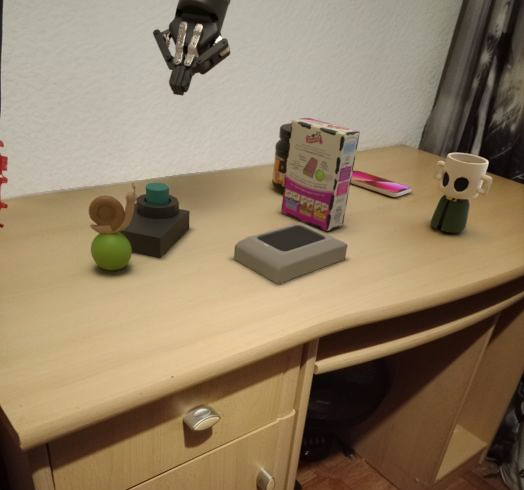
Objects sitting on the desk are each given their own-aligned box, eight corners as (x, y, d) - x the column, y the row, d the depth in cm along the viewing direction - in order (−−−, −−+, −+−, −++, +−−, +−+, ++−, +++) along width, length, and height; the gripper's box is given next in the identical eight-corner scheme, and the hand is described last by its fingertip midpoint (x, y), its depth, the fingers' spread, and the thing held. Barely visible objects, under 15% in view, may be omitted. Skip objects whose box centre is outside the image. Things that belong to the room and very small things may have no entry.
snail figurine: (141, 275, 75) (138, 190, 68) (93, 278, 73) (85, 191, 66) (137, 258, 79) (134, 176, 72) (91, 260, 78) (83, 176, 71)
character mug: (411, 222, 102) (429, 152, 95) (432, 215, 106) (451, 147, 99) (462, 243, 96) (486, 169, 88) (482, 235, 100) (506, 164, 93)
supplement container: (260, 186, 111) (266, 124, 105) (297, 179, 117) (304, 120, 111) (295, 202, 105) (303, 138, 98) (332, 194, 111) (342, 133, 104)
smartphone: (356, 169, 124) (413, 187, 116) (355, 174, 125) (412, 192, 117) (337, 175, 119) (395, 194, 111) (336, 179, 120) (394, 198, 112)
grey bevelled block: (348, 237, 84) (280, 260, 75) (344, 259, 86) (277, 284, 77) (304, 216, 89) (235, 236, 80) (301, 237, 91) (233, 259, 82)
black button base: (141, 218, 92) (139, 188, 89) (191, 227, 91) (191, 198, 88) (104, 246, 82) (102, 214, 79) (160, 257, 80) (160, 226, 77)
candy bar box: (344, 226, 97) (362, 131, 88) (327, 233, 94) (344, 134, 85) (296, 207, 103) (308, 115, 94) (279, 212, 100) (290, 118, 91)
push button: (151, 196, 88) (151, 181, 86) (172, 200, 87) (172, 185, 86) (142, 203, 85) (141, 187, 83) (163, 207, 84) (163, 191, 83)
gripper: (160, -29, 84) (128, 69, 81) (241, -19, 82) (212, 81, 79) (173, 10, 91) (145, 101, 88) (248, 20, 89) (222, 113, 86)
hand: (177, 91), depth 84 cm, fingers closed
